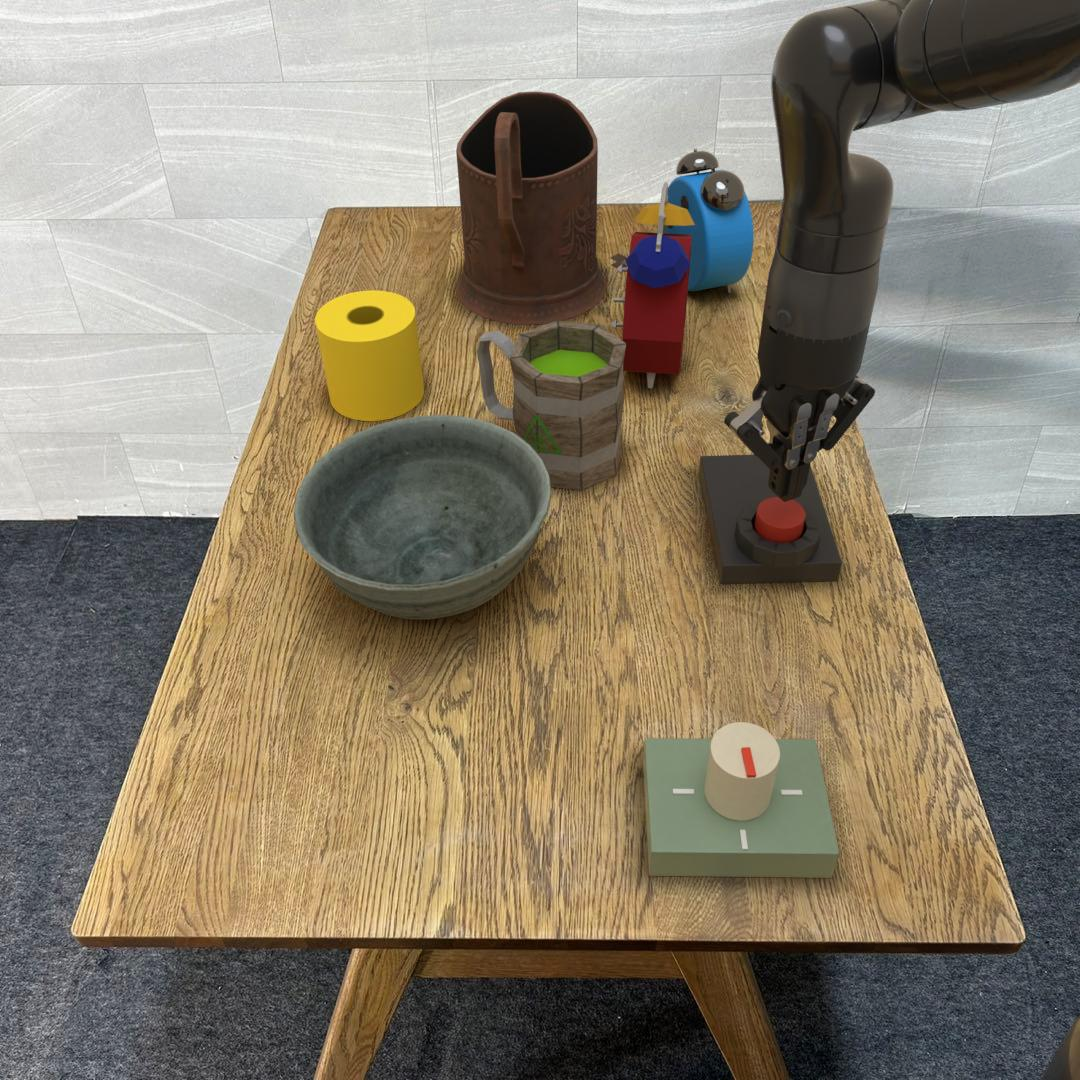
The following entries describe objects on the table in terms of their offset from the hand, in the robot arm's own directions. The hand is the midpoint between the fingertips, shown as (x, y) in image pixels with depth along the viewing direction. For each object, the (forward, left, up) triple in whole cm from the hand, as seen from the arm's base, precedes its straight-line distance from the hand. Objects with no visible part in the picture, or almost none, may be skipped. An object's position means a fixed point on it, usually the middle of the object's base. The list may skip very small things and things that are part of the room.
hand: (785, 493), depth 86 cm
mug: (+23, +11, -8) cm, 27 cm away
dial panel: (-20, +18, -7) cm, 28 cm away
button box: (+4, -2, -7) cm, 9 cm away
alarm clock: (+44, -20, -8) cm, 49 cm away
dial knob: (-20, +18, -4) cm, 27 cm away
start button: (0, 0, -4) cm, 4 cm away
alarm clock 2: (+32, -5, -8) cm, 34 cm away
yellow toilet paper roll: (+40, +23, -8) cm, 47 cm away
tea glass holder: (+51, 0, -8) cm, 52 cm away
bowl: (+11, +28, -8) cm, 31 cm away
